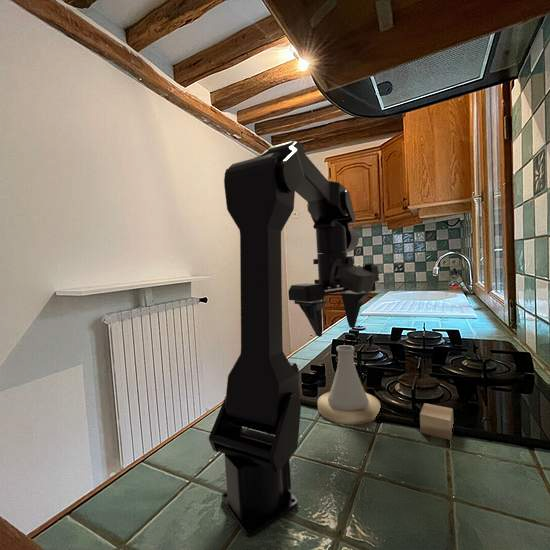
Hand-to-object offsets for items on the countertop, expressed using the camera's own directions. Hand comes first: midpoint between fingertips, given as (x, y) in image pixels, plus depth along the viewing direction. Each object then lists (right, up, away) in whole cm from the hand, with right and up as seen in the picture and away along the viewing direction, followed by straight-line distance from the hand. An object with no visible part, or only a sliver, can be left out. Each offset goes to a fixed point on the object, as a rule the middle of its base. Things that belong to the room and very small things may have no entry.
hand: (336, 331), depth 60 cm
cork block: (+13, -13, -13) cm, 22 cm away
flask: (+1, -12, -5) cm, 13 cm away
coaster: (+1, -13, -5) cm, 14 cm away
